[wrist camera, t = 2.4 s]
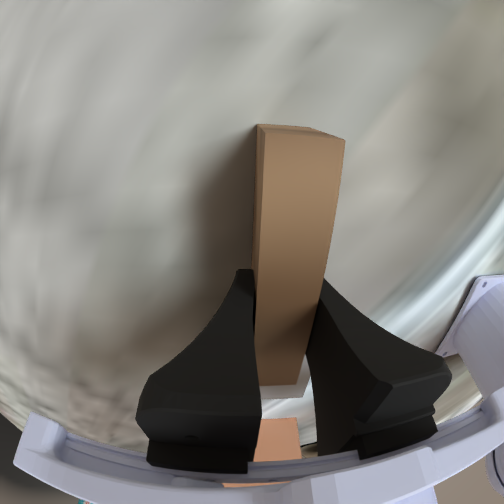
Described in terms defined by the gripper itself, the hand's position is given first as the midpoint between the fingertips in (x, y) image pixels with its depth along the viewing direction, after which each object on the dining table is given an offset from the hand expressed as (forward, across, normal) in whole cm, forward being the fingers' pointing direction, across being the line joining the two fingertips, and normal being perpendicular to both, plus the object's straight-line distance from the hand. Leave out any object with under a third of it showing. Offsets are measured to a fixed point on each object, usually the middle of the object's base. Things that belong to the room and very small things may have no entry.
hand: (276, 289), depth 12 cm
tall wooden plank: (+1, 0, +2) cm, 3 cm away
